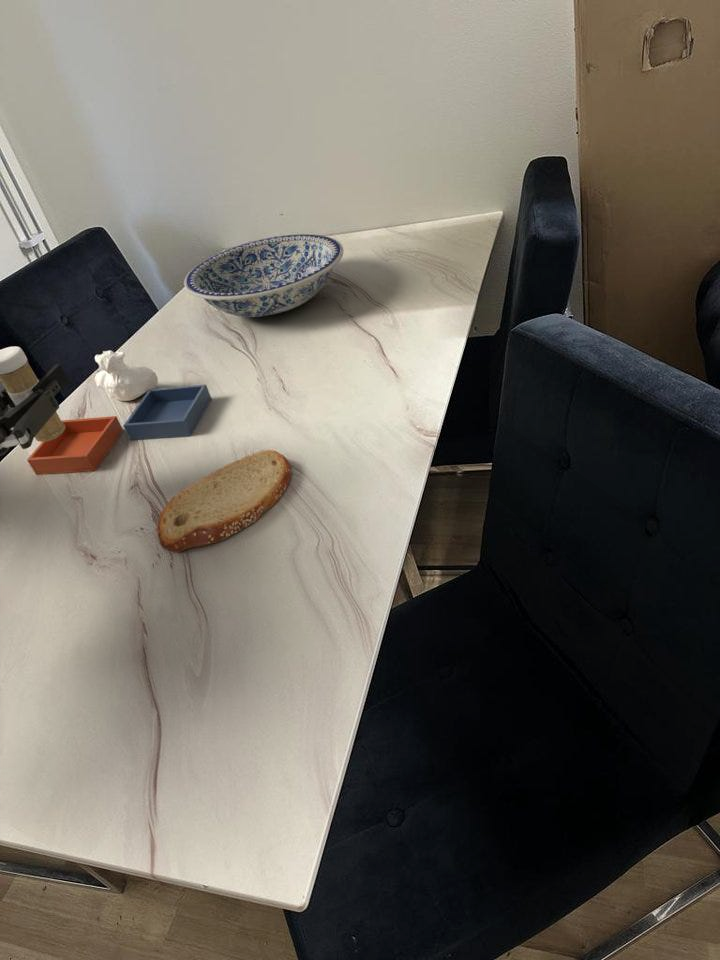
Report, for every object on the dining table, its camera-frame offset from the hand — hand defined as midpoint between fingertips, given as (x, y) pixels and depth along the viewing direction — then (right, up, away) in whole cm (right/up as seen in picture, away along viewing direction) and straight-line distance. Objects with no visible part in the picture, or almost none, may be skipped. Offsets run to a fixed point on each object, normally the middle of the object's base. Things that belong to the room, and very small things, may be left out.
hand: (46, 374), depth 97 cm
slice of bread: (+27, -19, -3) cm, 33 cm away
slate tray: (+13, -5, +19) cm, 23 cm away
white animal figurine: (+3, 0, +28) cm, 29 cm away
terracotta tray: (-2, -11, +16) cm, 19 cm away
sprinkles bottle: (0, -9, 0) cm, 9 cm away
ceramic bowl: (+27, +23, +49) cm, 61 cm away
